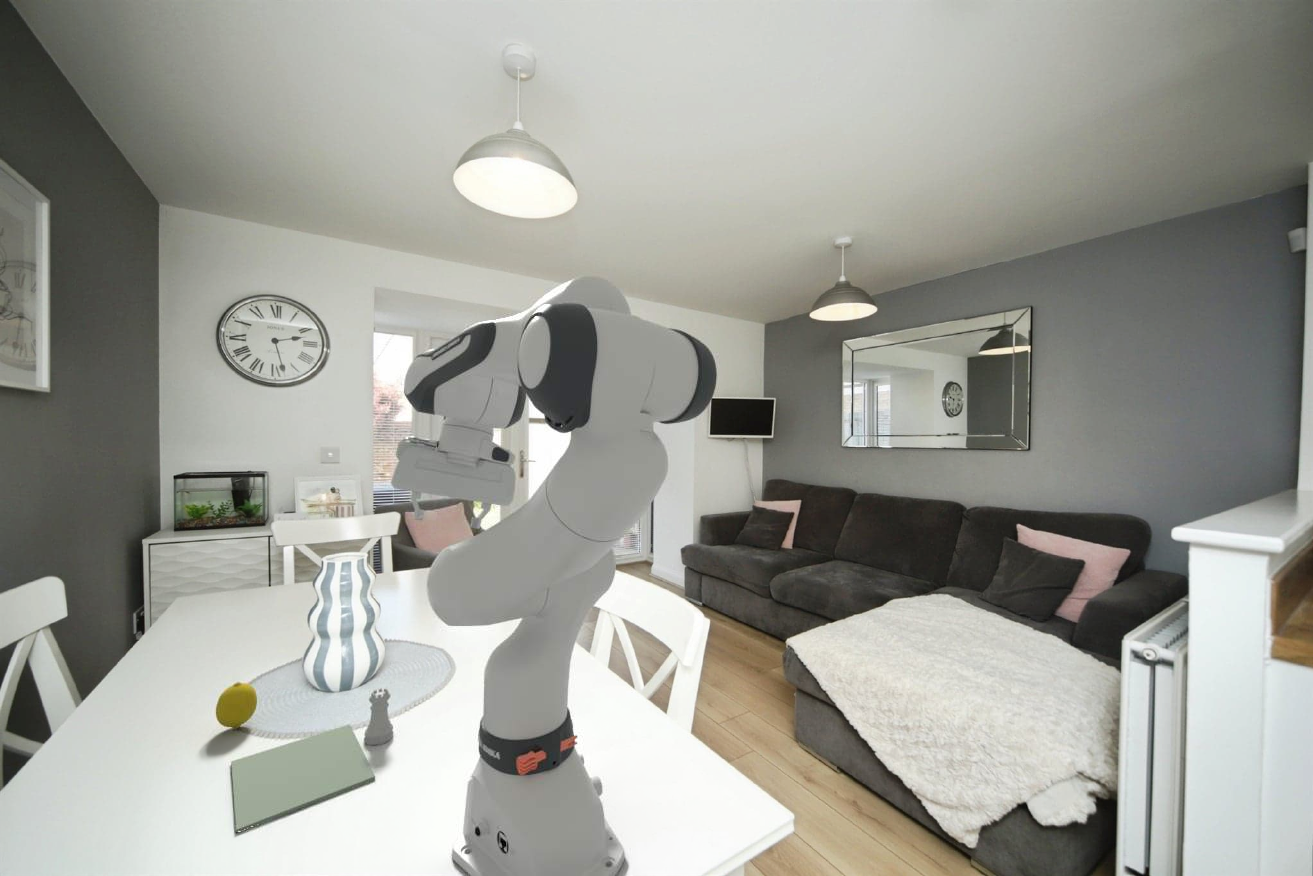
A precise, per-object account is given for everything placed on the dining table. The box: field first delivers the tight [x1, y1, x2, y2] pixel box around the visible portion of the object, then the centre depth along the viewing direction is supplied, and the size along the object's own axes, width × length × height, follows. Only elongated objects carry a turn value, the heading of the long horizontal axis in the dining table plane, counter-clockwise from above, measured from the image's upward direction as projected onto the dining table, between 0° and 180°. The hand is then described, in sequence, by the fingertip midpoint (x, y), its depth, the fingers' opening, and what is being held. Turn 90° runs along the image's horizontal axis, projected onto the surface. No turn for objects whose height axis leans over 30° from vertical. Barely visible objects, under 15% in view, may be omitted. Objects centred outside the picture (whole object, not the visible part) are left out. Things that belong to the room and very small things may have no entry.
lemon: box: [215, 681, 258, 730], centre depth 87 cm, size 6×6×8 cm
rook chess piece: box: [363, 687, 394, 746], centre depth 85 cm, size 4×4×8 cm
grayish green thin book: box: [230, 724, 376, 833], centre depth 76 cm, size 18×16×1 cm
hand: (446, 524), depth 87 cm, fingers open, 8 cm apart
